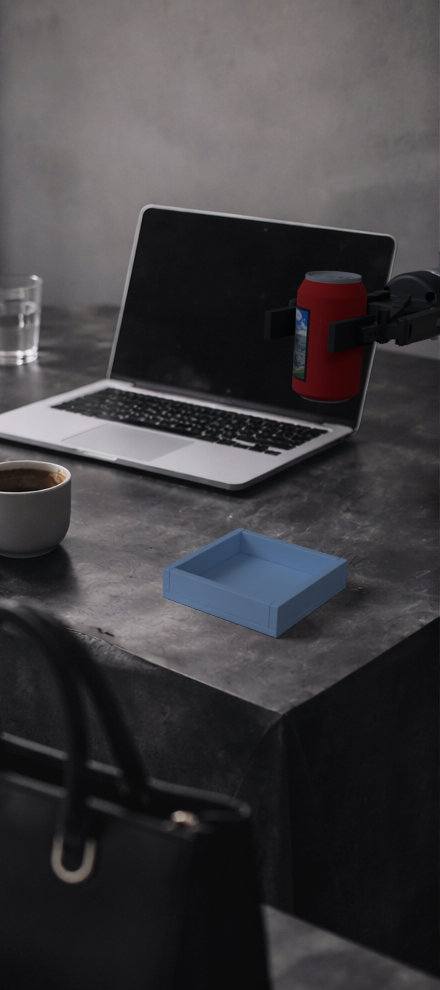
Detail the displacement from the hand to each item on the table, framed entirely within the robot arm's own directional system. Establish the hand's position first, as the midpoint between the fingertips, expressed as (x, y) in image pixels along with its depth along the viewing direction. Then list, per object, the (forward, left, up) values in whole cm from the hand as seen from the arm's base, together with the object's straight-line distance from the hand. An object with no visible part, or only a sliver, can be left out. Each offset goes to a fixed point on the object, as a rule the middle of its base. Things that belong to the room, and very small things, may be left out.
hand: (299, 331), depth 92 cm
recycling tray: (-8, +18, -18) cm, 26 cm away
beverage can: (-1, -5, -7) cm, 9 cm away
